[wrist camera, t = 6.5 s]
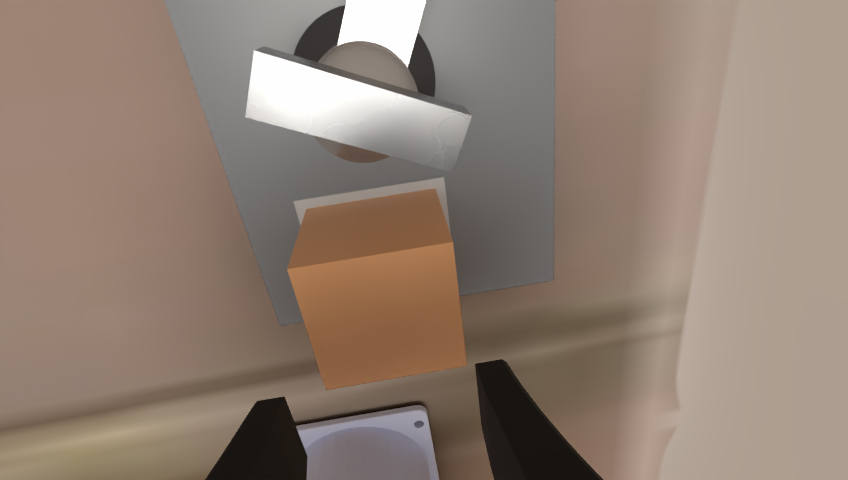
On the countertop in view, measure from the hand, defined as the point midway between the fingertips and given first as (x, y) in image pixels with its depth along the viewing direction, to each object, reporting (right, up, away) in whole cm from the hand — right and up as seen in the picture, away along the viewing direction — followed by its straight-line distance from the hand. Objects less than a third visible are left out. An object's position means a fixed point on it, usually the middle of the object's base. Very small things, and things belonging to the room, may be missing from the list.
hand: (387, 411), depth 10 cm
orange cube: (-1, +3, +6) cm, 7 cm away
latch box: (-1, +8, +6) cm, 10 cm away
